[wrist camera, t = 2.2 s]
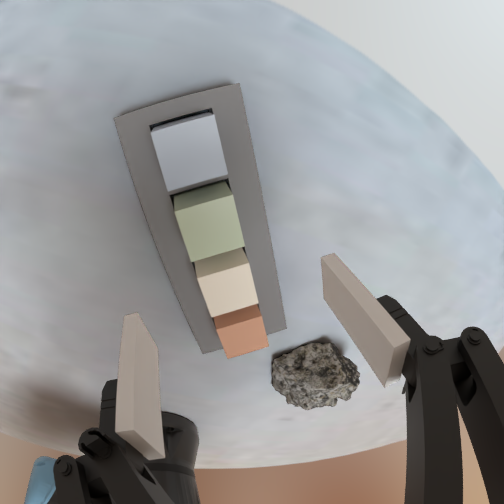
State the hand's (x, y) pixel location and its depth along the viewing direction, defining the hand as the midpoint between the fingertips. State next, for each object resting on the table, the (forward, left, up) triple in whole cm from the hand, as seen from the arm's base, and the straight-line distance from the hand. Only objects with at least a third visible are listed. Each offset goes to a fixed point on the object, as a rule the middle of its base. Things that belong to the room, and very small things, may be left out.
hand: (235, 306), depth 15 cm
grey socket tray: (0, -3, -16) cm, 16 cm away
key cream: (0, -6, -13) cm, 15 cm away
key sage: (0, 0, -13) cm, 13 cm away
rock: (+8, -28, -16) cm, 33 cm away
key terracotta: (0, -12, -13) cm, 18 cm away
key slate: (0, +6, -13) cm, 15 cm away
